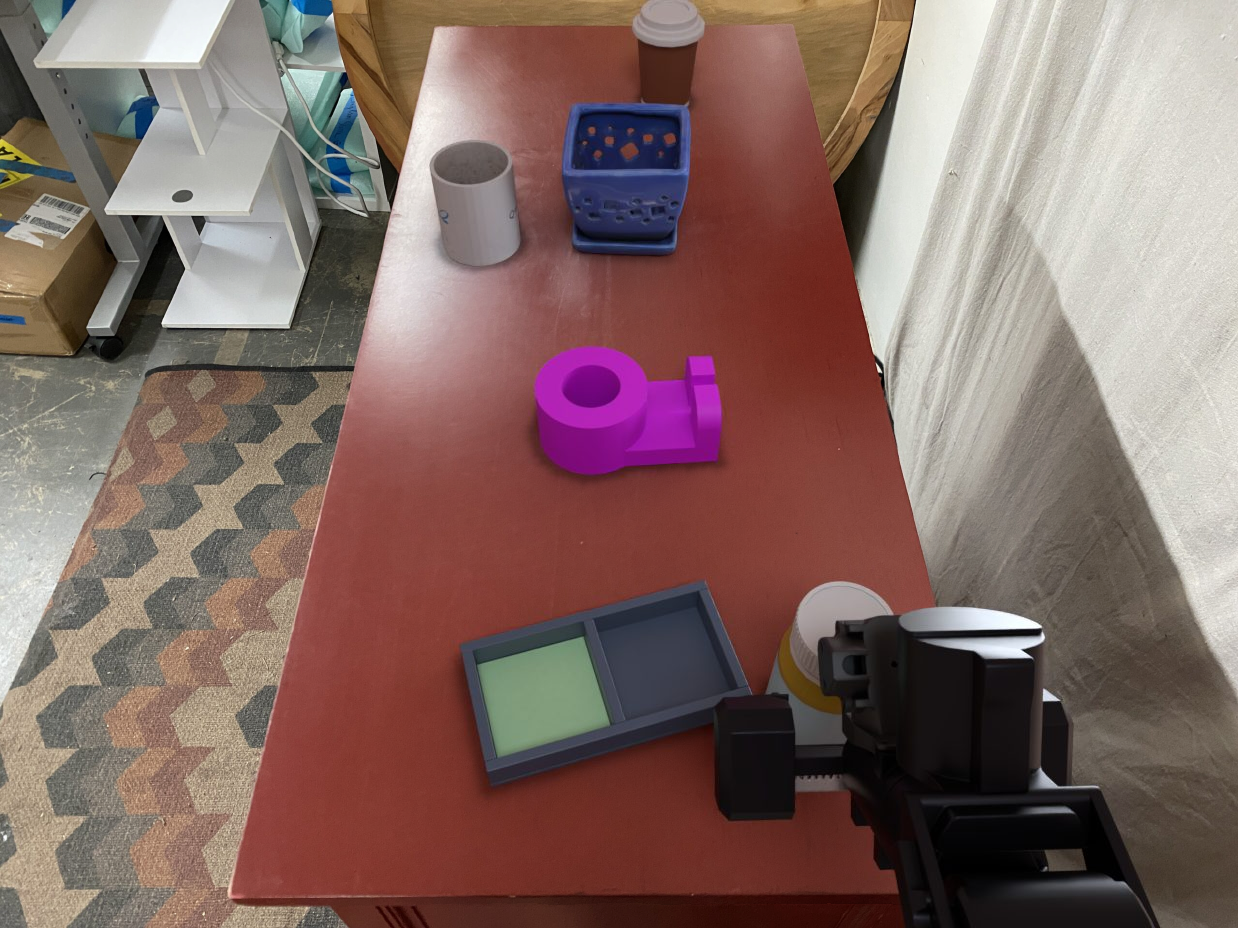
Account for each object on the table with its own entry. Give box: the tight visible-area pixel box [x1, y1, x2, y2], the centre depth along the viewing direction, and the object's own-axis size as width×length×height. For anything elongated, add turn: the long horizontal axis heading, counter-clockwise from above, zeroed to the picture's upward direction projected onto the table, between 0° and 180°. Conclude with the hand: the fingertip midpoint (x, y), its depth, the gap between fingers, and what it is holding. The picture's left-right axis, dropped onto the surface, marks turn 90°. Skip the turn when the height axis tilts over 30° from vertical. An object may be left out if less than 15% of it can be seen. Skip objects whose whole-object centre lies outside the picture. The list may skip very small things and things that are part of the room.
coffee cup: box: [631, 0, 706, 108], centre depth 117 cm, size 9×9×12 cm
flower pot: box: [561, 102, 692, 256], centre depth 100 cm, size 13×13×12 cm
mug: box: [428, 139, 522, 267], centre depth 100 cm, size 12×9×10 cm
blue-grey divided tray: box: [459, 579, 753, 788], centre depth 68 cm, size 10×19×3 cm, turn 107°
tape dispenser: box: [534, 346, 723, 476], centre depth 83 cm, size 16×10×6 cm, turn 94°
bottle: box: [765, 580, 895, 745], centre depth 62 cm, size 7×7×15 cm
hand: (847, 697), depth 58 cm, fingers open, 9 cm apart
